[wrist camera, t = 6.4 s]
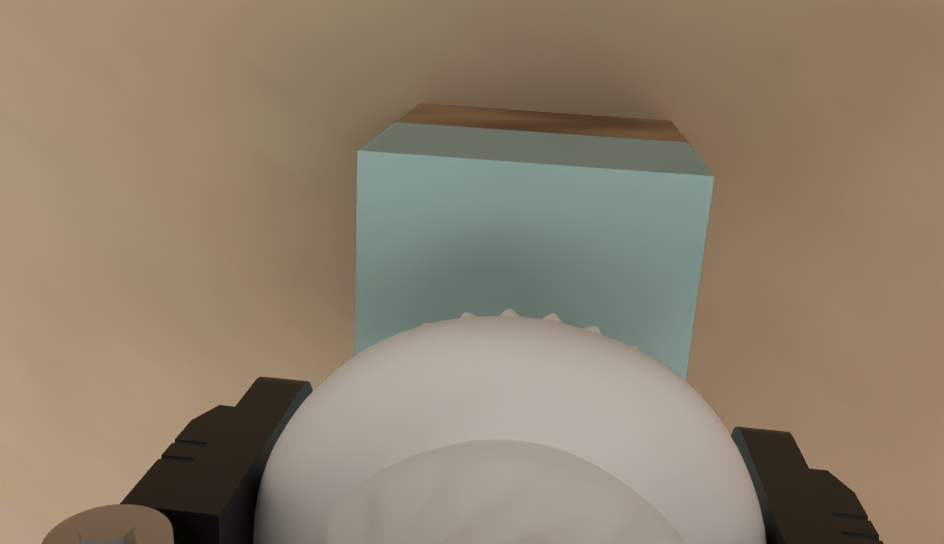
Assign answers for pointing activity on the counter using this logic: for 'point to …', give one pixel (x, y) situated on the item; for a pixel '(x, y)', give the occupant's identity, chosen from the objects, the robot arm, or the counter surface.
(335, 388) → the white rounded piece
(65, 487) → the counter surface
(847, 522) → the robot arm
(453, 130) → the tower top
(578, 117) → the tower bottom
